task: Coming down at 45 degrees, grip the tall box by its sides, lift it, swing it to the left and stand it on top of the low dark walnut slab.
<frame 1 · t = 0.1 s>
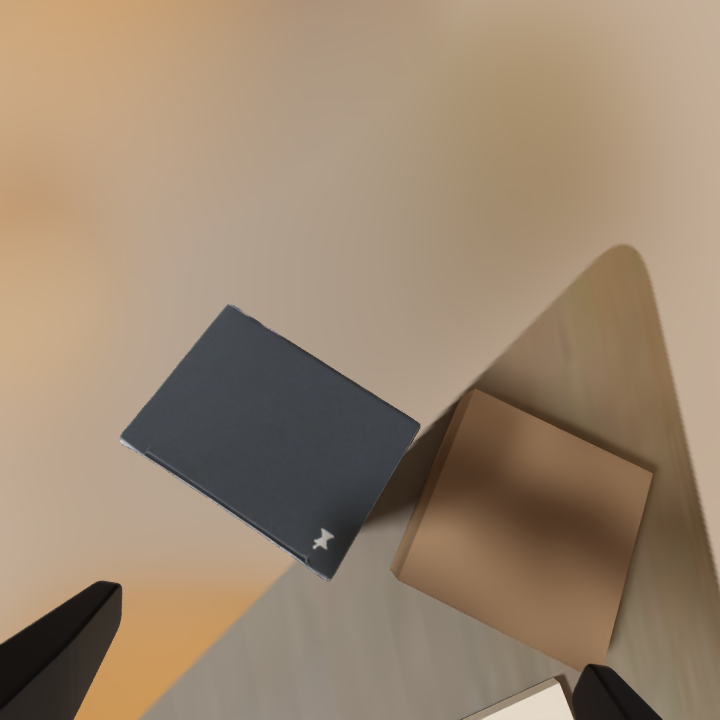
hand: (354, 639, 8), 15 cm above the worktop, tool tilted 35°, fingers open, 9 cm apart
walnut slab: (511, 519, 23), on the worktop
box: (295, 453, 24), on the worktop
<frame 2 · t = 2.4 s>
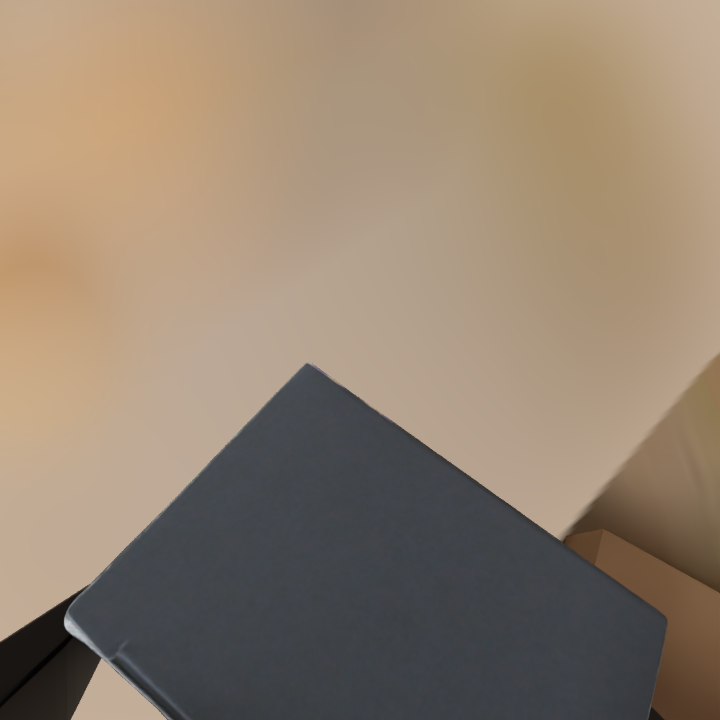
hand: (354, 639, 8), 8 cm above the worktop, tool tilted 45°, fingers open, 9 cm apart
box: (333, 611, 16), on the worktop, touching gripper
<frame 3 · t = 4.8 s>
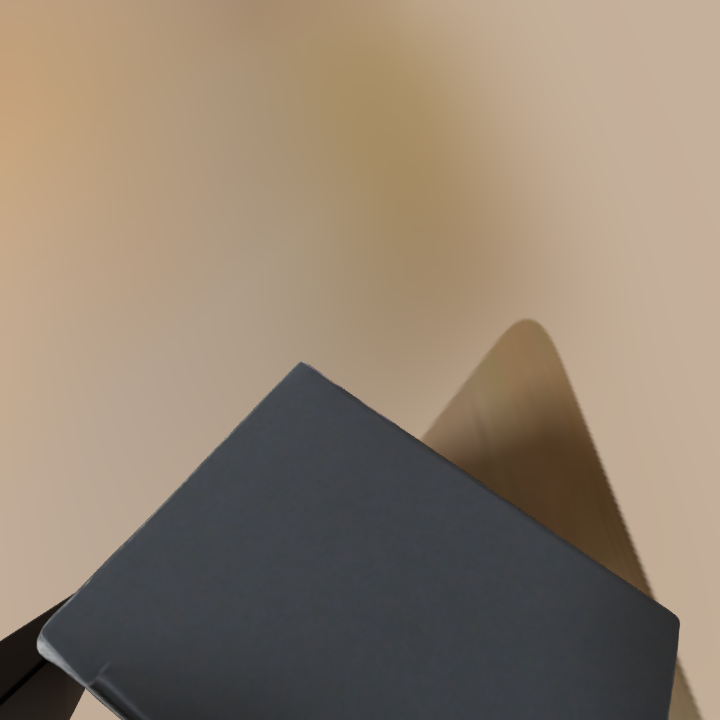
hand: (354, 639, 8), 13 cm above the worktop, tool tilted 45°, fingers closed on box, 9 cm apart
box: (323, 628, 15), point 5 cm above the worktop, touching gripper
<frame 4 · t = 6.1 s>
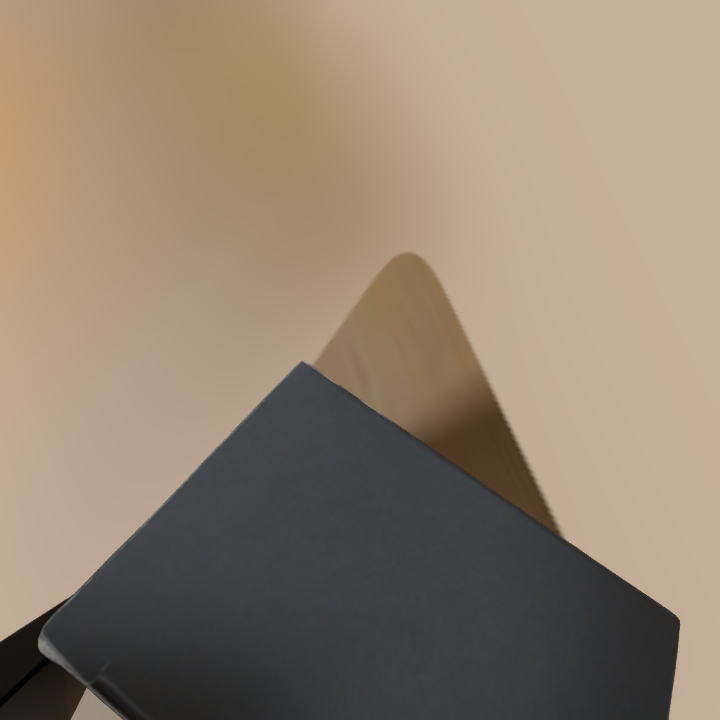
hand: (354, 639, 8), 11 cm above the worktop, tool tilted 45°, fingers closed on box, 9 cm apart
box: (323, 628, 15), point 3 cm above the worktop, touching gripper
when the fingers open (11 cm above the worktop, at t = 6.9 s): box stays where it is, resting on walnut slab.
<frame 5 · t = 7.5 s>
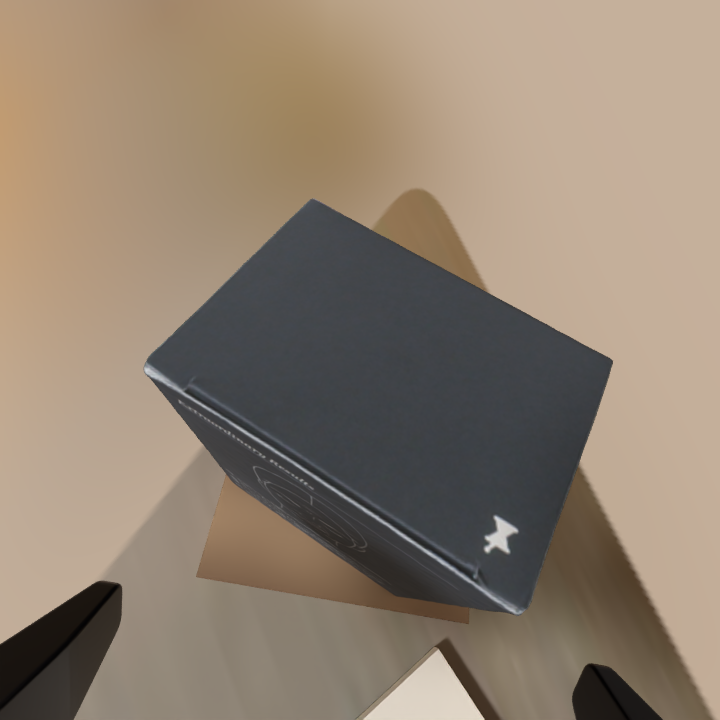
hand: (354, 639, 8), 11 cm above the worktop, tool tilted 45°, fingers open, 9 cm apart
walnut slab: (349, 476, 20), on the worktop
box: (347, 476, 18), point 2 cm above the worktop, touching walnut slab
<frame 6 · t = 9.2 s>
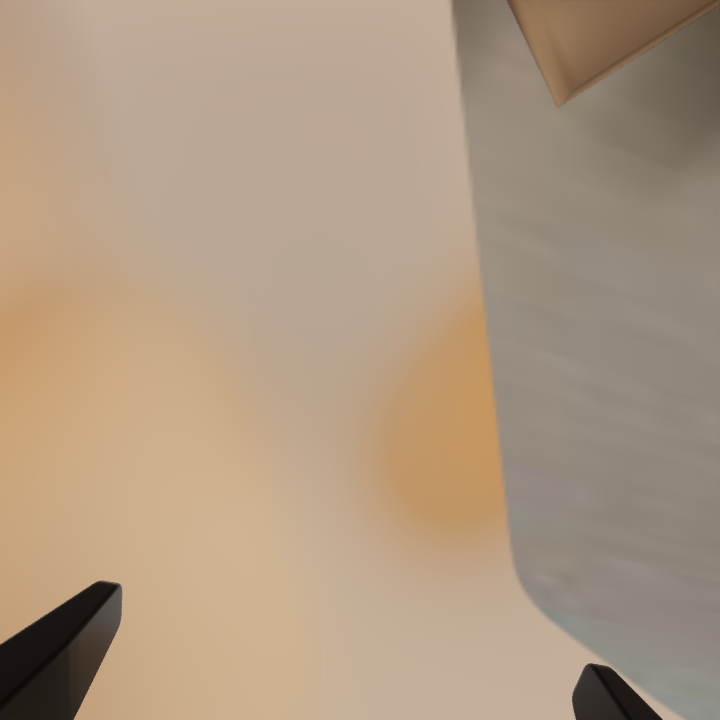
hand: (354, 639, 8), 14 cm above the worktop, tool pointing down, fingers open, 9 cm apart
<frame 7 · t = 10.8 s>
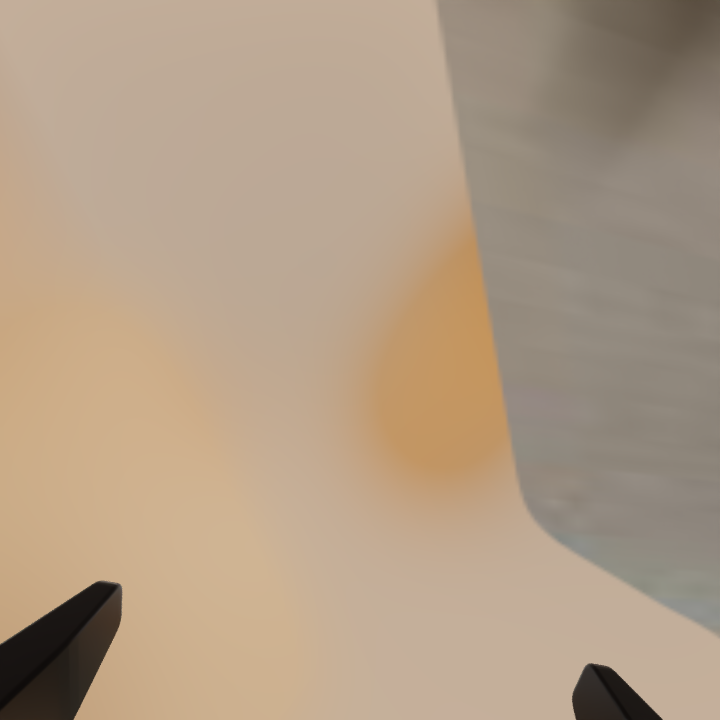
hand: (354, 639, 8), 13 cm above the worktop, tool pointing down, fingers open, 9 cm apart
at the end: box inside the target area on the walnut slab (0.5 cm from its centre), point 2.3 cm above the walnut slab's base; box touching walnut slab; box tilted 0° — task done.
